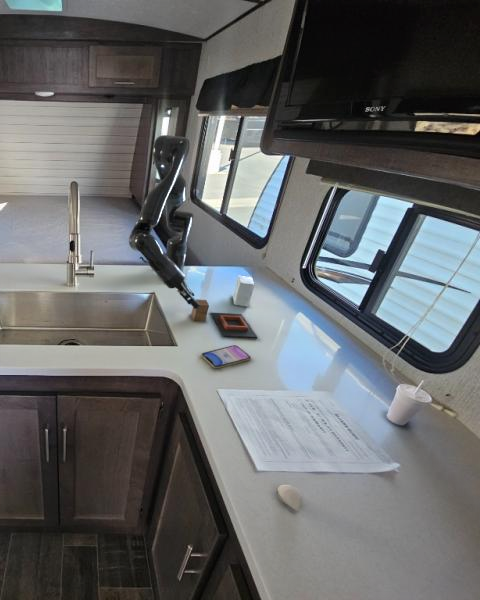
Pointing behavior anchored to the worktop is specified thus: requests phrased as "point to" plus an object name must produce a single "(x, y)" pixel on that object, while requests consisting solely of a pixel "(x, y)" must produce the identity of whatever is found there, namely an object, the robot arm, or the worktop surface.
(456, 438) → the worktop surface
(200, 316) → the oak block
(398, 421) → the smoothie
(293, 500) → the cream seashell
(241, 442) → the worktop surface
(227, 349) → the smartphone
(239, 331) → the dock pad
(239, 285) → the small box
